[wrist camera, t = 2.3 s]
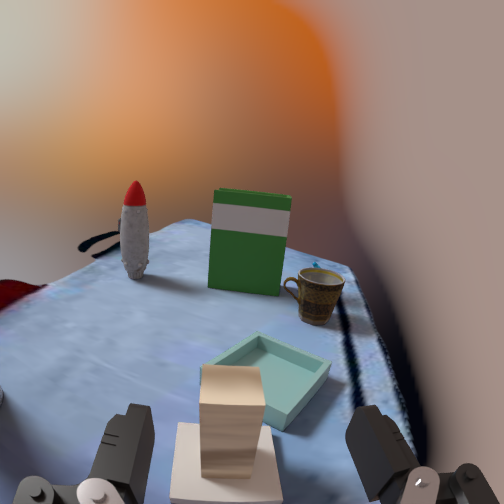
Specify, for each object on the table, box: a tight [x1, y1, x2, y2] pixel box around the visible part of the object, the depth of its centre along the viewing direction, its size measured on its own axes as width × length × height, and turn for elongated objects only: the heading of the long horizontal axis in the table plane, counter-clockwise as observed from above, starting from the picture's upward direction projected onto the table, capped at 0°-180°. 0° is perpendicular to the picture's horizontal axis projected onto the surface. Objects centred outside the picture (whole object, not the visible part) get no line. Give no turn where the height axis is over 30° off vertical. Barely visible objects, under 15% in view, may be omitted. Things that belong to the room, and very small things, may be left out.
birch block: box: [199, 364, 266, 479], centre depth 25 cm, size 5×5×12 cm
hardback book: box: [208, 188, 292, 296], centre depth 75 cm, size 18×7×24 cm, turn 85°
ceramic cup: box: [284, 268, 345, 325], centre depth 63 cm, size 13×10×10 cm
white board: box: [169, 422, 283, 504], centre depth 27 cm, size 11×11×2 cm
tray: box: [200, 331, 332, 432], centre depth 42 cm, size 14×14×4 cm
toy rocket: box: [118, 181, 149, 279], centre depth 72 cm, size 8×8×25 cm
